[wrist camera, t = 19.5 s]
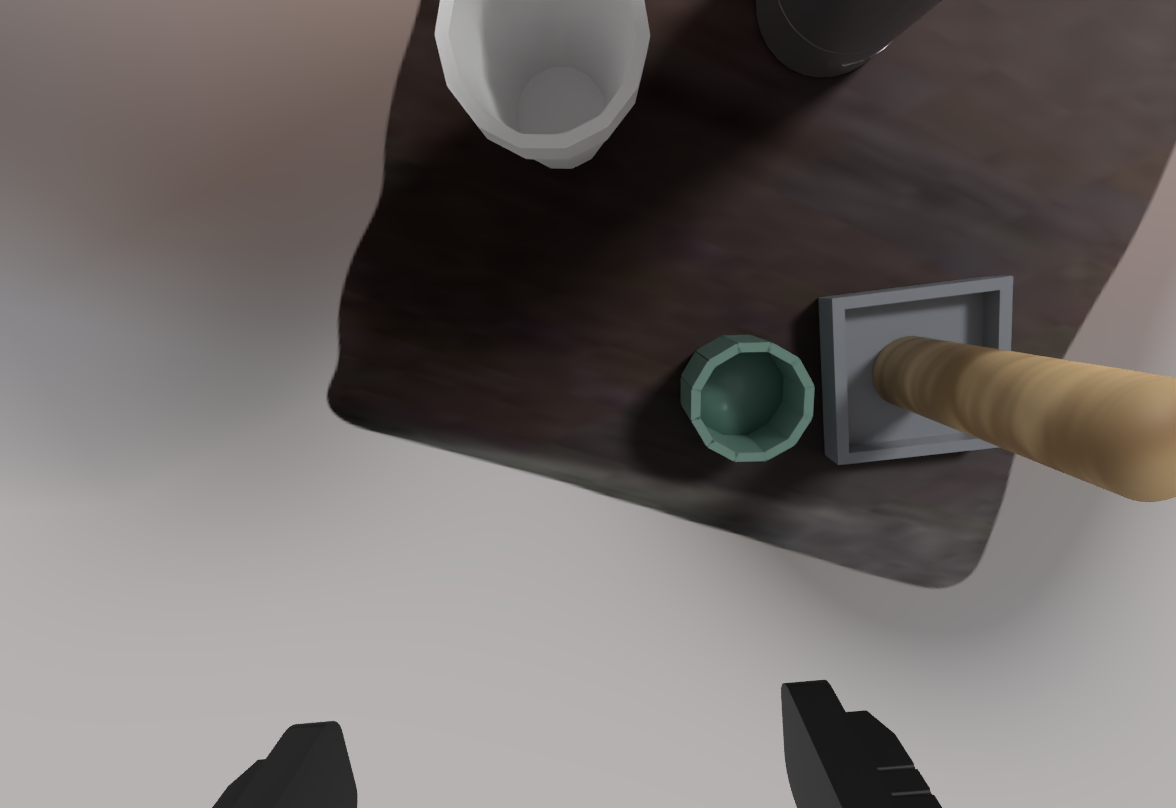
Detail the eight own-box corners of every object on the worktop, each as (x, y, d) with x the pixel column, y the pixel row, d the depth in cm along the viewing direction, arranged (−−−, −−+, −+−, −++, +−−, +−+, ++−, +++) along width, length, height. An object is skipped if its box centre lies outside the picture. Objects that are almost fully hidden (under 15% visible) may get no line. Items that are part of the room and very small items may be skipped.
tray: (824, 454, 42) (837, 465, 40) (818, 297, 39) (832, 298, 37) (984, 436, 41) (1007, 446, 39) (988, 276, 39) (1013, 275, 37)
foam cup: (508, 23, 36) (459, -117, 24) (647, 59, 37) (672, -59, 24) (480, 175, 38) (420, 122, 26) (612, 208, 39) (617, 173, 26)
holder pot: (661, 371, 41) (669, 383, 36) (756, 314, 40) (778, 318, 35) (713, 459, 42) (727, 482, 37) (807, 406, 41) (834, 423, 36)
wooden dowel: (860, 359, 39) (1077, 419, 22) (926, 322, 39) (1204, 353, 21) (890, 418, 40) (1122, 523, 23) (955, 383, 40) (1244, 463, 22)
